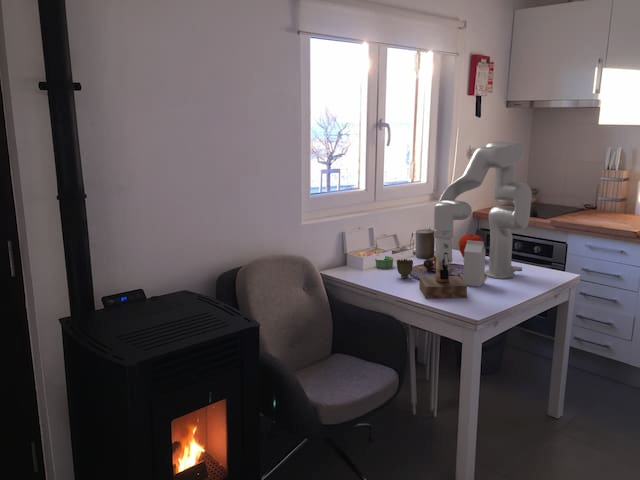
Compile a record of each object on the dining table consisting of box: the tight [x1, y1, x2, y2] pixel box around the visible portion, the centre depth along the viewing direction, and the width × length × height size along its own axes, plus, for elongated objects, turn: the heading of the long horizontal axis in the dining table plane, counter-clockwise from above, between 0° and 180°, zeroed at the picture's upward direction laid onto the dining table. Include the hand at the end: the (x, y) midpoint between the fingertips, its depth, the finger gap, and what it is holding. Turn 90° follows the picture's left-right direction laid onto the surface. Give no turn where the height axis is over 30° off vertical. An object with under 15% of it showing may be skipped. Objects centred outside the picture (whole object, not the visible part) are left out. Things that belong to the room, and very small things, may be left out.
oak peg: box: [435, 259, 450, 283], centre depth 222 cm, size 5×5×14 cm
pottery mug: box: [423, 254, 437, 271], centre depth 255 cm, size 12×10×8 cm
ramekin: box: [374, 255, 394, 270], centre depth 265 cm, size 9×9×4 cm
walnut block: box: [418, 275, 468, 300], centre depth 223 cm, size 16×14×5 cm
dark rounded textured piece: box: [396, 258, 414, 280], centre depth 245 cm, size 8×7×8 cm
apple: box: [458, 234, 484, 259], centre depth 269 cm, size 12×12×14 cm
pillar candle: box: [415, 228, 435, 260], centre depth 280 cm, size 10×10×15 cm
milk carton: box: [462, 240, 486, 288], centre depth 232 cm, size 7×7×19 cm
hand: (442, 276), depth 222 cm, fingers closed on oak peg, 5 cm apart
